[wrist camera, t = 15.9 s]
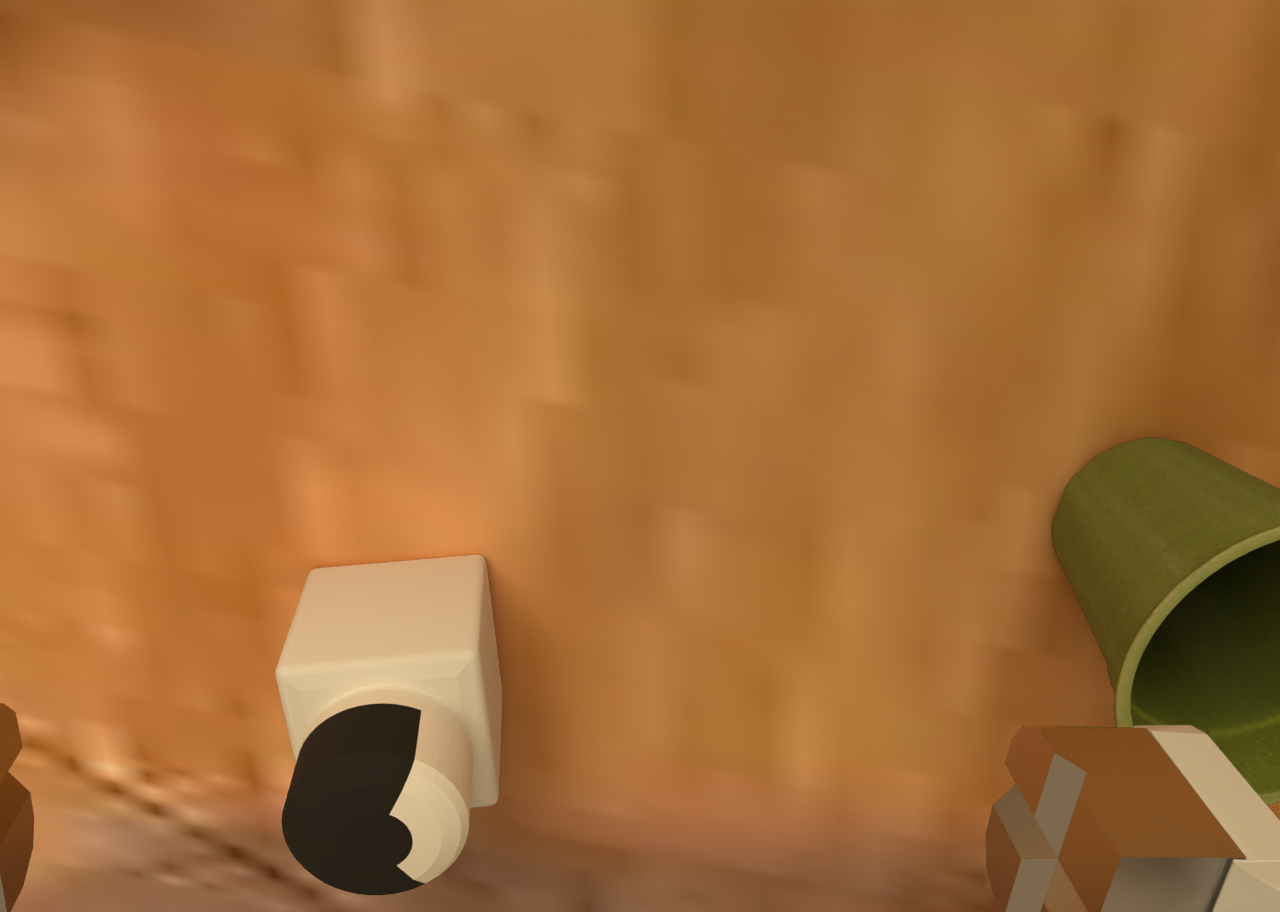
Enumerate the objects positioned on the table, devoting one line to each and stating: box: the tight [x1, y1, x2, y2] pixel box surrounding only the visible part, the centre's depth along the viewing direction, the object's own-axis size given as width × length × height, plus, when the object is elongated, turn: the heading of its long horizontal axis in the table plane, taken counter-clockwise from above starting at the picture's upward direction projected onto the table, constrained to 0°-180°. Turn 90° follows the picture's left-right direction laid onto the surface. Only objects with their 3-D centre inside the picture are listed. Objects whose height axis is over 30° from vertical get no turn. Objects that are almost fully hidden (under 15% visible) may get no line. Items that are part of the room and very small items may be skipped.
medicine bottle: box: [276, 554, 503, 895], centre depth 42 cm, size 7×7×12 cm
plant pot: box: [1052, 438, 1280, 805], centre depth 43 cm, size 12×12×11 cm
